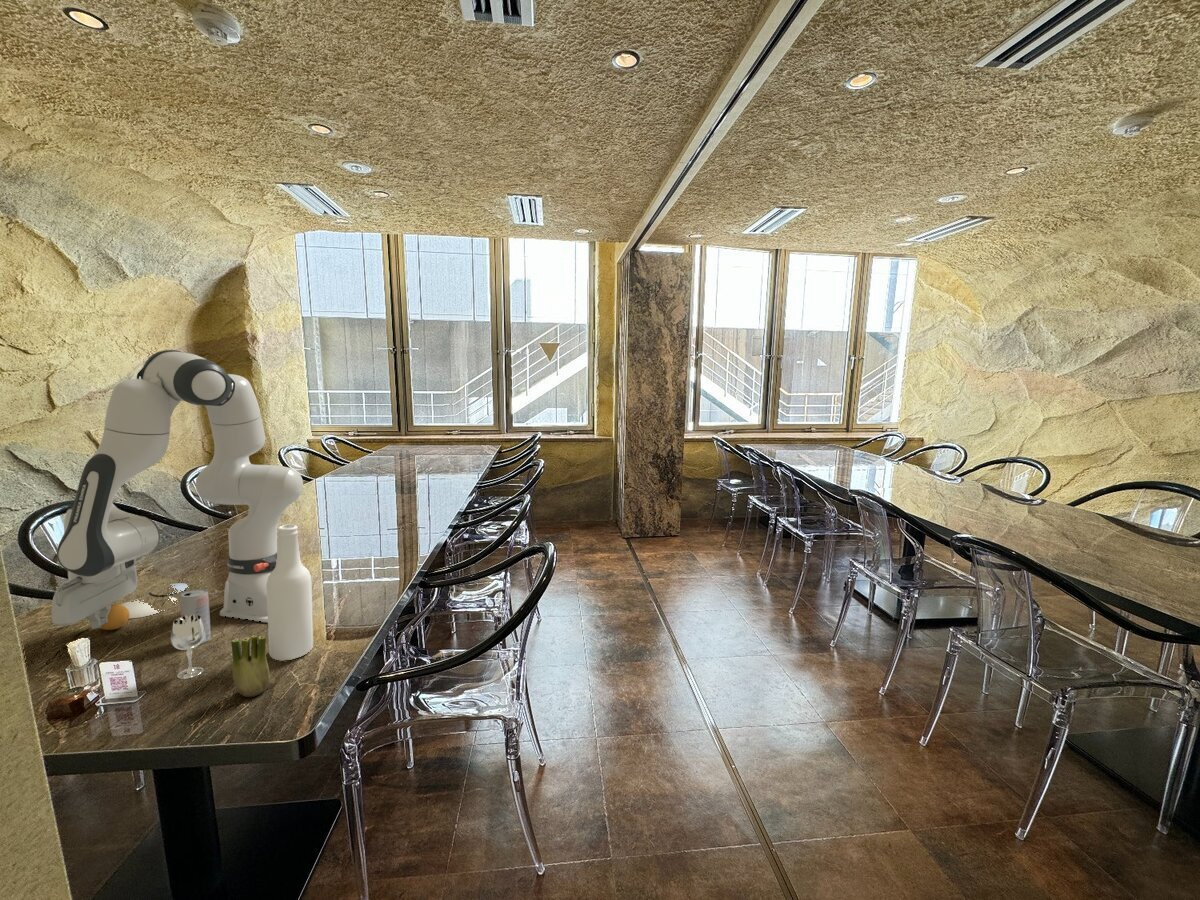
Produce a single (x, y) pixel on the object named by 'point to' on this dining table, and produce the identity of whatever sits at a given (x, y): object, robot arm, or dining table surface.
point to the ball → (116, 617)
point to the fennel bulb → (250, 666)
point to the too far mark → (179, 587)
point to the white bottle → (289, 600)
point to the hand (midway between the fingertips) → (99, 625)
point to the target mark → (141, 608)
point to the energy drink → (197, 607)
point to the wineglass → (188, 640)
